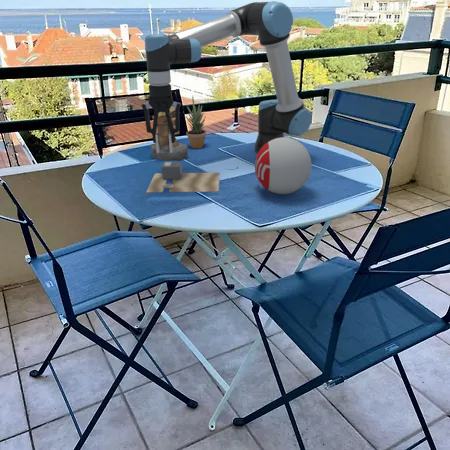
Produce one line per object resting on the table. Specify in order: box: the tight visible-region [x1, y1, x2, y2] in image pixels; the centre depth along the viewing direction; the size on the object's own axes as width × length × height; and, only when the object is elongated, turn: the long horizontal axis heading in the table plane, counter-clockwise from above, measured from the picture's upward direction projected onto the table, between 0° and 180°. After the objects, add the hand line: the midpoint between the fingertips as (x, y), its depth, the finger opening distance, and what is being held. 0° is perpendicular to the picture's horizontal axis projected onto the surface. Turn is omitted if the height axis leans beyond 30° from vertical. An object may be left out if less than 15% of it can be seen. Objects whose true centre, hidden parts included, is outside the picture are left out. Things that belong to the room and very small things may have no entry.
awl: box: [157, 123, 170, 153], centre depth 159 cm, size 4×4×10 cm
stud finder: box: [161, 161, 183, 181], centre depth 175 cm, size 7×6×5 cm
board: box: [145, 172, 221, 197], centre depth 171 cm, size 26×20×2 cm
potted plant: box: [185, 96, 207, 149], centre depth 212 cm, size 10×10×25 cm
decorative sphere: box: [254, 136, 312, 195], centre depth 159 cm, size 20×20×20 cm
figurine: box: [150, 105, 189, 162], centre depth 198 cm, size 14×11×25 cm
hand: (164, 151), depth 161 cm, fingers closed on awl, 4 cm apart
